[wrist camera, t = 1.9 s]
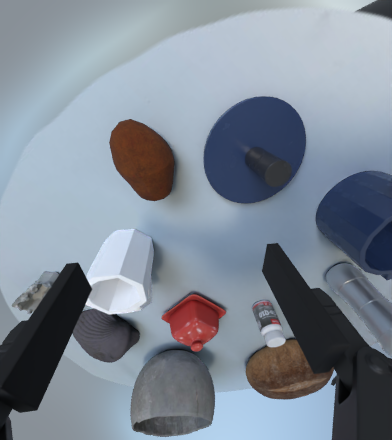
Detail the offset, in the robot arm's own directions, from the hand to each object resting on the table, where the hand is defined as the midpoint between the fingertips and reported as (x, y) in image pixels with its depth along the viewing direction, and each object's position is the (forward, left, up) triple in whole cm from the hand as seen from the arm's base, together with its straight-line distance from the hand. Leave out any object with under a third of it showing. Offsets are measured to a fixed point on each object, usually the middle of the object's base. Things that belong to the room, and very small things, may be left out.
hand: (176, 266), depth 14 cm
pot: (-25, +17, -17) cm, 35 cm away
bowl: (+25, +47, -17) cm, 56 cm away
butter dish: (+11, +30, -17) cm, 36 cm away
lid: (-11, +1, -16) cm, 20 cm away
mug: (+13, +9, -17) cm, 23 cm away
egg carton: (+32, +9, -17) cm, 37 cm away
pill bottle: (-4, +37, -17) cm, 41 cm away
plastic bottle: (-22, +33, -17) cm, 43 cm away
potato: (+2, -5, -17) cm, 18 cm away
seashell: (+32, +27, -17) cm, 45 cm away
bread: (-4, +69, -17) cm, 71 cm away
